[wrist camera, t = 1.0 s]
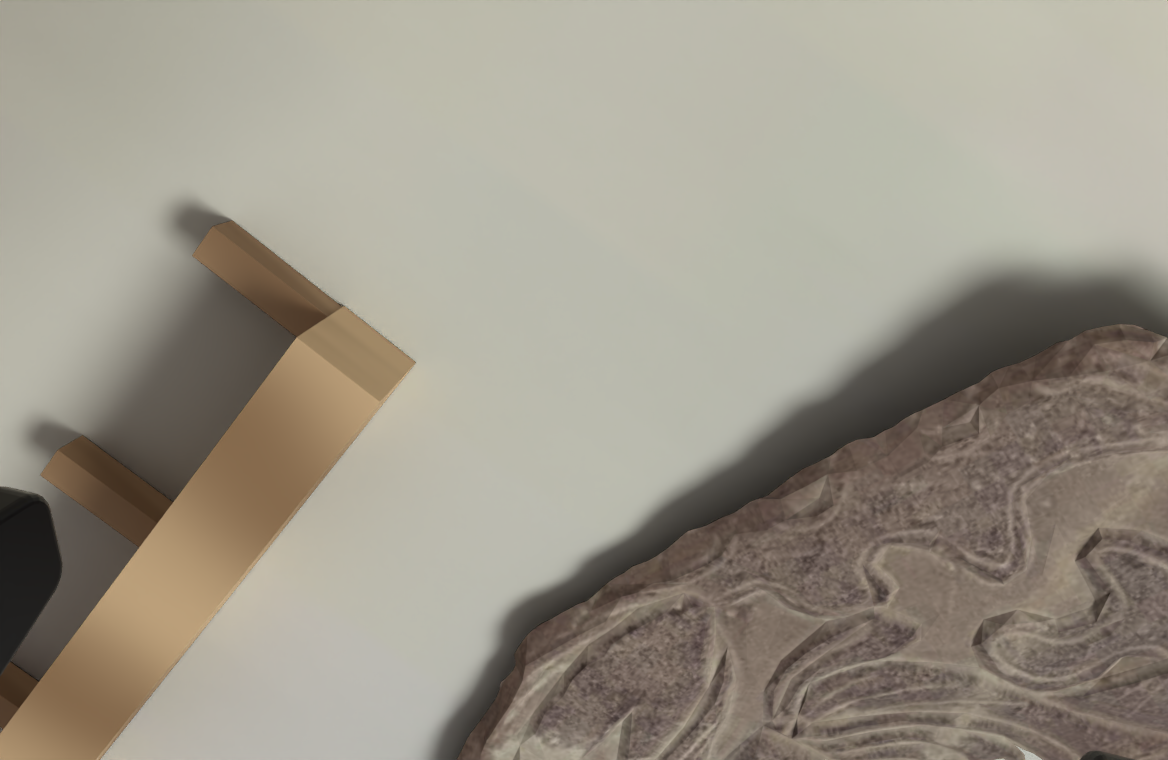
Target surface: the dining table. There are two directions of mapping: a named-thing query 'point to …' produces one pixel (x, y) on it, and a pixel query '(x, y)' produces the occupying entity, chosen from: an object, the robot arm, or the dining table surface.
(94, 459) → the rail
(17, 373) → the dining table surface
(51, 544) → the robot arm
